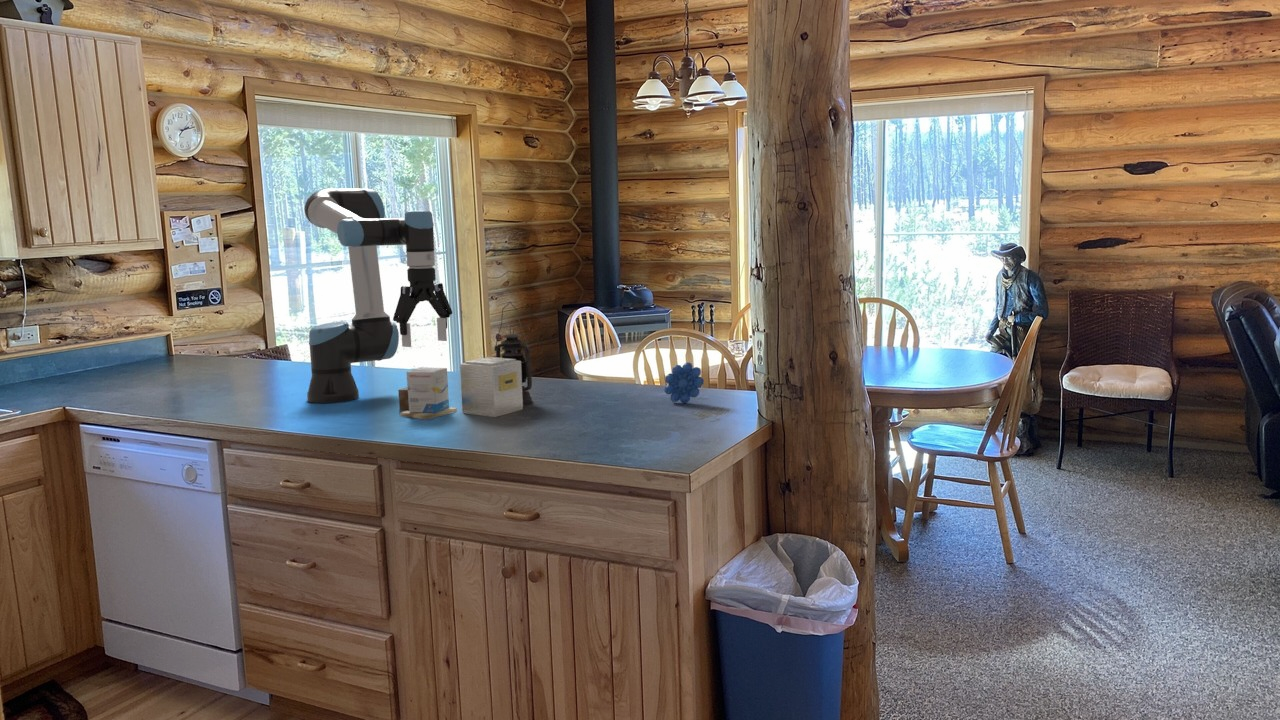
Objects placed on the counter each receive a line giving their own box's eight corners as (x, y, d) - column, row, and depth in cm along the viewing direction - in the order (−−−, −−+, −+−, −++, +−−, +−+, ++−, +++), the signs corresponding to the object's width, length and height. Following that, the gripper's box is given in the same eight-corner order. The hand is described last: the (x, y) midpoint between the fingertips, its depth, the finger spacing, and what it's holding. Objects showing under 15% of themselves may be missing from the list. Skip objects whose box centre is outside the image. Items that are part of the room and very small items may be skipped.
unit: (462, 413, 268) (460, 361, 266) (491, 405, 278) (488, 356, 276) (496, 417, 262) (493, 364, 260) (524, 409, 272) (522, 358, 270)
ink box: (450, 407, 272) (448, 367, 270) (436, 413, 264) (434, 371, 262) (422, 406, 274) (420, 366, 272) (408, 412, 266) (405, 371, 264)
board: (400, 416, 266) (400, 412, 266) (431, 408, 276) (431, 405, 276) (426, 419, 261) (426, 415, 261) (457, 411, 271) (457, 408, 271)
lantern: (541, 400, 285) (538, 300, 280) (523, 407, 275) (518, 303, 271) (506, 398, 290) (502, 299, 286) (486, 404, 280) (482, 302, 276)
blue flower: (707, 401, 278) (706, 360, 277) (702, 405, 272) (701, 364, 270) (668, 399, 282) (667, 359, 280) (662, 404, 275) (661, 363, 274)
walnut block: (399, 410, 275) (398, 389, 274) (408, 407, 280) (407, 386, 279) (414, 411, 273) (413, 390, 273) (423, 407, 278) (422, 387, 277)
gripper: (396, 270, 250) (400, 350, 254) (462, 264, 271) (465, 339, 274) (376, 269, 254) (381, 348, 258) (443, 264, 275) (446, 337, 278)
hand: (424, 343), depth 266 cm, fingers open, 13 cm apart
